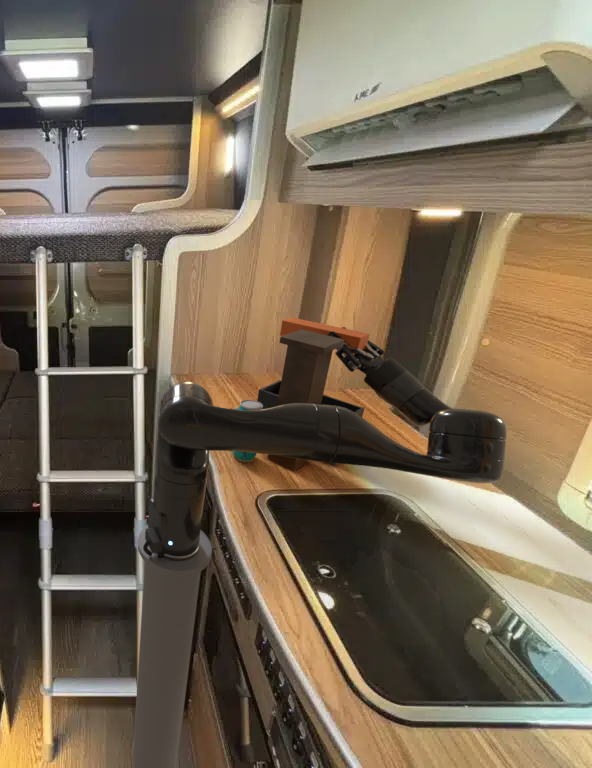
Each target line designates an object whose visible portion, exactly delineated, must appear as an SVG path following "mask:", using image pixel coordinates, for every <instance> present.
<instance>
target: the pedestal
mask: <svg viewBox="0 0 592 768" xmlns="http://www.w3.org/2000/svg"><path fill="white" fill-rule="evenodd" d="M279 344H282V345H286V346H287V347H286V352H285V358H284V363H283V369H282V375H281V379H280V380H281V386H280V391H279V397H278V402H277V406H280V405H285V404H291V403H313V404H321V402H322V397H323V395H324V392H325V388H326V384H327V380H328V379H327V378H328V376H329V375H328V374H329V370H330V365H331V361H332V356H333V351H334V350H336V349H337V348H339V347H341V346H343V344H344V339H340V338H336V337H332V336H327V335H323V334H319V333H315V332H310V331H306V330H302V329H301V330H298V331H295V332H293V333H290V334H287V335H284V336H280V337H279ZM267 460H269V461H271V462H273V463H276V464H278V465H280V466H282V467H284V468H286V469H288V470H290V471H293V472H295V471H296V470H297V469H299V468H301V467H302V466H304V465H305V464H307V463H308V462H309V461H310V460H305V459H299V458H293V457H285V456H276V455H267Z"/></svg>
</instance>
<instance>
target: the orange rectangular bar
mask: <svg viewBox="0 0 592 768" xmlns="http://www.w3.org/2000/svg"><path fill="white" fill-rule="evenodd" d="M301 329H302V330H306V331H310V332H315V333H319V334H323V335H328V334H329V333H330V332H332V331H334V332H335V333H337V334H338V335H339V336H340V337H341V338H342V339H344V340H345V342H347V343H348V344H350V345H351V346H352V347H357V348H358V349H359V348H360V349H361V350H363V349H366V348H365V346H366V345H367V343H368V340H369V339H370V333H367V332H362V331H358V330H352V329H350V328H349V329H348V328H346V329H344V328H342V327H339V326H335V325H330V324H325V323H320V322H316V321H311V320H306V319H301V318H297V317H289V318H285V319H282V320H281V327H280V332H279V336H280V337H281V336H284V335H287V334H290V333H293V332H295V331H298V330H301ZM335 350H336V351H337V349H335ZM349 350H350V349H349ZM350 351H351V350H350ZM357 353H358V352H355V353H353V355H354V354H357Z"/></svg>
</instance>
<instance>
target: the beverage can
mask: <svg viewBox="0 0 592 768" xmlns="http://www.w3.org/2000/svg"><path fill="white" fill-rule="evenodd" d="M239 404H240V405H239V406H238V408H237V410H246V411H253V410H262V409H263V405H262V404H261V403H260V402H258V401H257V400H254V399H244V400H241V401H240V403H239ZM232 454H233V457H234V459H235V460H236V461H239V462H241V463H250V462H253V460H254V459H255V457H256V456H257V455H258V453H251V452H242V451H232Z"/></svg>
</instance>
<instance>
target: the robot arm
mask: <svg viewBox="0 0 592 768" xmlns="http://www.w3.org/2000/svg"><path fill="white" fill-rule="evenodd" d="M341 328H344V329H347V327H345V326H343V327H341ZM327 336H332V337H336V338H340V339H342V338H341V337H340V336H339V335H338V334H337V333H335V332H334V331H332V332H330V333H329V334H328V335H327ZM365 348H366V349H363V350H361V349H360V348H359V349H358V348H357V347H352V346H351V345H350V344H348V343H347V342H345V340H344V344H343V346H341V347H339V348H337V350H336V352H335V353H334V354H335V355H336V357H337V359H339V360H340V361H341V363H342V364H343V365H344V366H345V367H346V368H347V369H348V371H349V372H351V373H353V372H354V371H355V370H358V371H360V372H362V373H363V374H364V375H365V376H364V378H363V382H364V383H365V384H366V385H367V386H368V387H370V389H372V390H373V391H374V392H375V393H376V394H377V395H378V396H379V397H381V398H382V400H384V401H385V402H386V403H388V404H389V405H391V407H393V408H395V409H396V410H397V411H398V412H399V413H400V414H401V415H402V416H403V417H405V418H406V419H407V420H408V421H409V422H410V423H412V425H414V426H415V427H419V428H423V427H426V426H429V427H428V433H427V434H428V436H427V446H426V454H423V453H420V452H418V451H415V450H412V449H411V448H408V447H406V446H404V445H402V444H400V443H399V442H397V441H395V440H394V439H392V438H390V437H389V436H388V435H386V434H385V433H384V432H382V431H381V430H380V429H378V428H377V427H376V426H375V425H373V424H372V423H371V422H369V421H368V420H366V419H365V418H363V416H362V417H361V416H359V415H358V414H356V413H355V412H353V411H351V410H349V409H347V408H344V407H340V406H332V405H322V404H313V403H291V404H285V405H280V406H275V407H271V408H267V409H262V410H253V411H246V410H238V409H235V408H227V407H221V406H216V405H214V401H213V399H212V397H211V396H212V395H210V393H209V391H207V389H206V388H205V387H204V386H202V385H200V384H197V383H195V382H191V381H181V382H178V383H174V384H173V385H172V386H170V387H169V388H167V390H166V391H165V392H164V393H163V395H162V396H161V399H160V403H159V412H158V423H157V424H158V429H157V431H158V432H157V444H156V455H155V473H154V474H155V475H154V488H153V489H154V490H153V497H151V498H149V501H148V502H149V504H148V517H147V518H148V520H147V525H148V528H146V531H145V540H146V542H145V544H144V546H143V549H144V551H145V552H146V553H147V554H148V555H149V556H151V555H152V553H156V555H157V557H158V558H166V559H169V560H174V561H184V560H188V559H191V558H192V557H194V556H195V555H196V554H197V553H198V550H199V544H200V542H199V541H200V531H202V522H203V513H204V505H205V496H206V488H207V479H208V472H209V465H210V463H209V462H210V451H214V452H216V451H218V452H233V451H242V452H251V453H257V454H260V455H267V456H268V455H276V456H285V457H293V458H299V459H305V460H309V461H312V462H313V461H314V462H321V463H327V462H328V463H327V464H329V463H337V464H339V465H340V464H341V465H349V466H350V465H351V466H360V467H361V466H362V467H371V468H377V469H385V470H386V469H387V470H392V471H393V470H394V471H398V472H403V473H404V472H405V473H409V474H415V475H423V476H427V477H433V478H439V479H444V480H450V481H455V482H462V483H468V484H469V483H471V484H492V483H493V484H494V483H496V482H498V481H500V480H501V478H502V477H503V473H504V468H505V458H506V457H505V456H506V445H507V441H506V440H507V425H506V423H505V420H504V419H503V418H502V417H500V416H499V415H497V414H496V413H492V412H489V411H485V410H479V409H472V408H471V409H470V408H452V407H451V406H450V405H448V404H446V403H445V402H444V401H442V400H441V399H440V398H439V397H438V396H436V395H435V394H434V393H433V392H431V391H430V390H429V389H428V388H426V387H425V386H424V384H422V382H420V380H419V379H418V378H417V377H415V376H414V375H413V374H412V373H411V372H410V371H408V370H407V369H406V368H405V367H403V366H402V365H401V363H399V362H398V361H397V360H396V359H394V358H393V357H388V358H385V359H384V358H383V357H382V356H383V355H384V354H385V353H386V351H385V350H384V349H382V348H381V347H380V346H378V345H376V344H375V343H373V342H372V341H370V340H369V339H368V343H367V345H366V346H365ZM349 349H350V350H351V351H350V350H349ZM355 352H358V353H357V354H353V353H355ZM148 545H149V547H150V549H151V551H152V552H151V551H150V550H148Z"/></svg>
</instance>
